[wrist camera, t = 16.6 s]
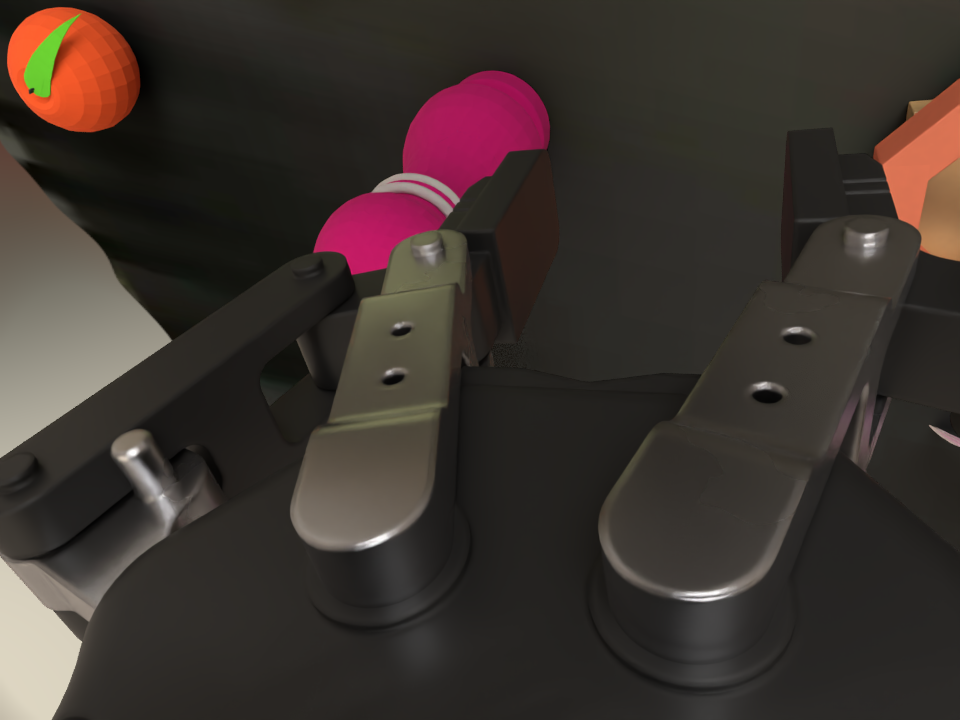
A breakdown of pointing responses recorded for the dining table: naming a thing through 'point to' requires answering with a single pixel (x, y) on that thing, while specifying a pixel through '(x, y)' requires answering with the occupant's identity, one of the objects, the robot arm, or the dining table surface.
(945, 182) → the peg stand
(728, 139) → the dining table surface
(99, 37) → the clementine
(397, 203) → the pepper mill
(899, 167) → the ring
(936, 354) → the robot arm
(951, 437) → the lily
